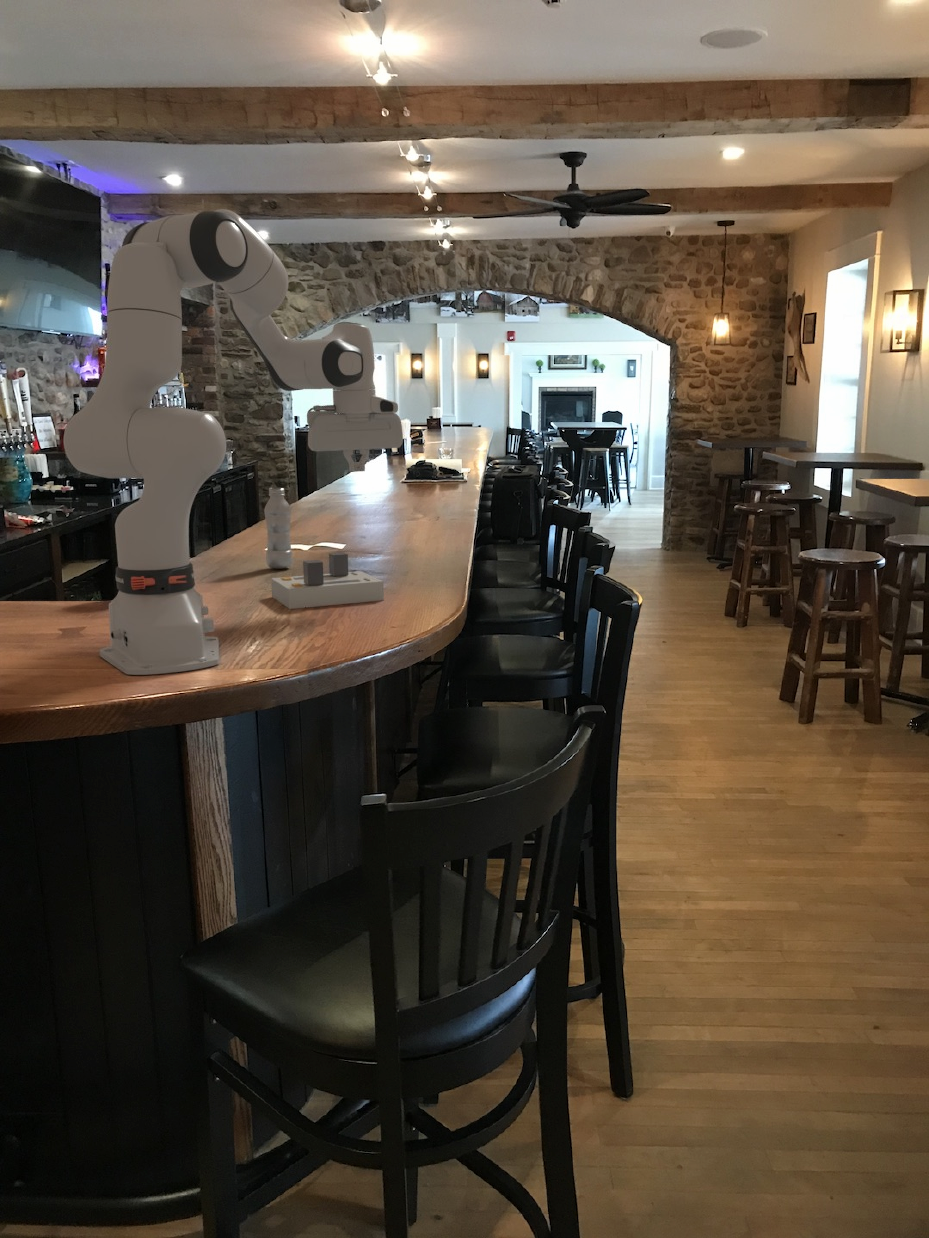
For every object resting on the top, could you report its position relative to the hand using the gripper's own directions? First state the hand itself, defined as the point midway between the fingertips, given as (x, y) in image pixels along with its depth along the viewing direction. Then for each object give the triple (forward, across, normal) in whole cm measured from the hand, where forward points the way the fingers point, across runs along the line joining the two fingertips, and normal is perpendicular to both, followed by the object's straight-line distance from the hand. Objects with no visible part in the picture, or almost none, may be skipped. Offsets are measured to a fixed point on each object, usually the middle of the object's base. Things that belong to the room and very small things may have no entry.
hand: (357, 471), depth 198 cm
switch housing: (+26, -9, -5) cm, 28 cm away
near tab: (+21, -13, -8) cm, 26 cm away
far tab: (+22, -5, -1) cm, 22 cm away
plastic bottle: (+27, -8, +37) cm, 47 cm away
